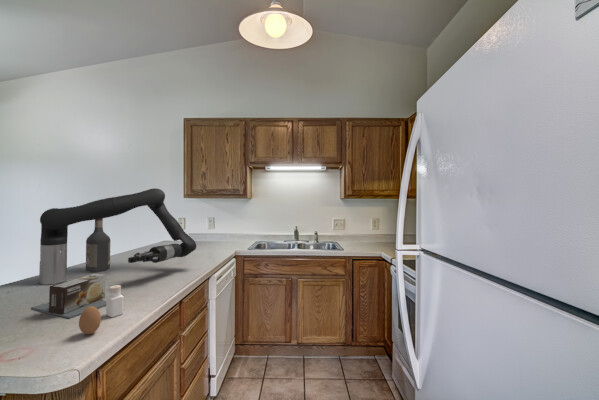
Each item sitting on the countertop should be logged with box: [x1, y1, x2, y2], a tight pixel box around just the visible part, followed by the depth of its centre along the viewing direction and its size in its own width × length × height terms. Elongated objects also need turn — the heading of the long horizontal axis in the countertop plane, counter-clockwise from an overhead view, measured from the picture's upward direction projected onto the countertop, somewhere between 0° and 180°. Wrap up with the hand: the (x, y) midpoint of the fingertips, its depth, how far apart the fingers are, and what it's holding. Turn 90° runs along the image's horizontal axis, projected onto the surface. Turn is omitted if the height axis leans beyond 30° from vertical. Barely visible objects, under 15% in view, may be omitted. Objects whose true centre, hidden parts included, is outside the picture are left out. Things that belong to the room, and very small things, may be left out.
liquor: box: [85, 218, 111, 273], centre depth 151 cm, size 9×9×30 cm
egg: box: [78, 306, 102, 335], centre depth 83 cm, size 5×5×8 cm
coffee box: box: [48, 273, 107, 314], centre depth 103 cm, size 9×6×16 cm
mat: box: [30, 299, 106, 320], centre depth 102 cm, size 20×14×1 cm
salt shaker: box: [105, 284, 125, 318], centre depth 96 cm, size 4×4×10 cm
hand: (129, 260), depth 123 cm, fingers closed
